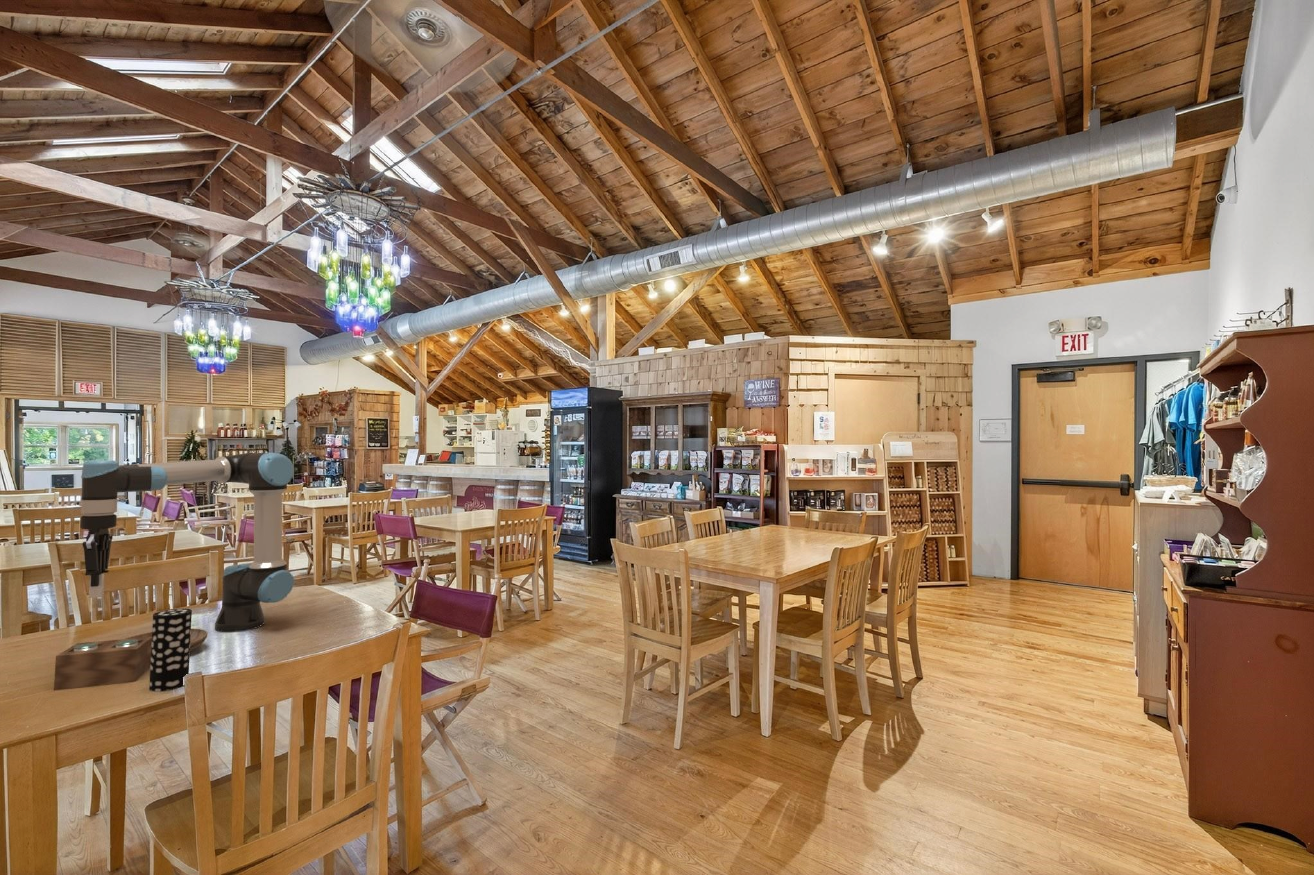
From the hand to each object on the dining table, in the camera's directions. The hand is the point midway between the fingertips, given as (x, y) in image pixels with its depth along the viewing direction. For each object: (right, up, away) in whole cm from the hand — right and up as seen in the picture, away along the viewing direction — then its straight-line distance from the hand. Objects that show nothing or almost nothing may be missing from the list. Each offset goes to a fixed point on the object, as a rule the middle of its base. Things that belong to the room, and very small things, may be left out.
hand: (96, 597), depth 168 cm
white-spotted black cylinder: (+25, -23, -6) cm, 35 cm away
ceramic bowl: (+2, -24, +20) cm, 31 cm away
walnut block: (+4, -23, -1) cm, 23 cm away
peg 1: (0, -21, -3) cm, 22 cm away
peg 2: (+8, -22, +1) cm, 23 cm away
